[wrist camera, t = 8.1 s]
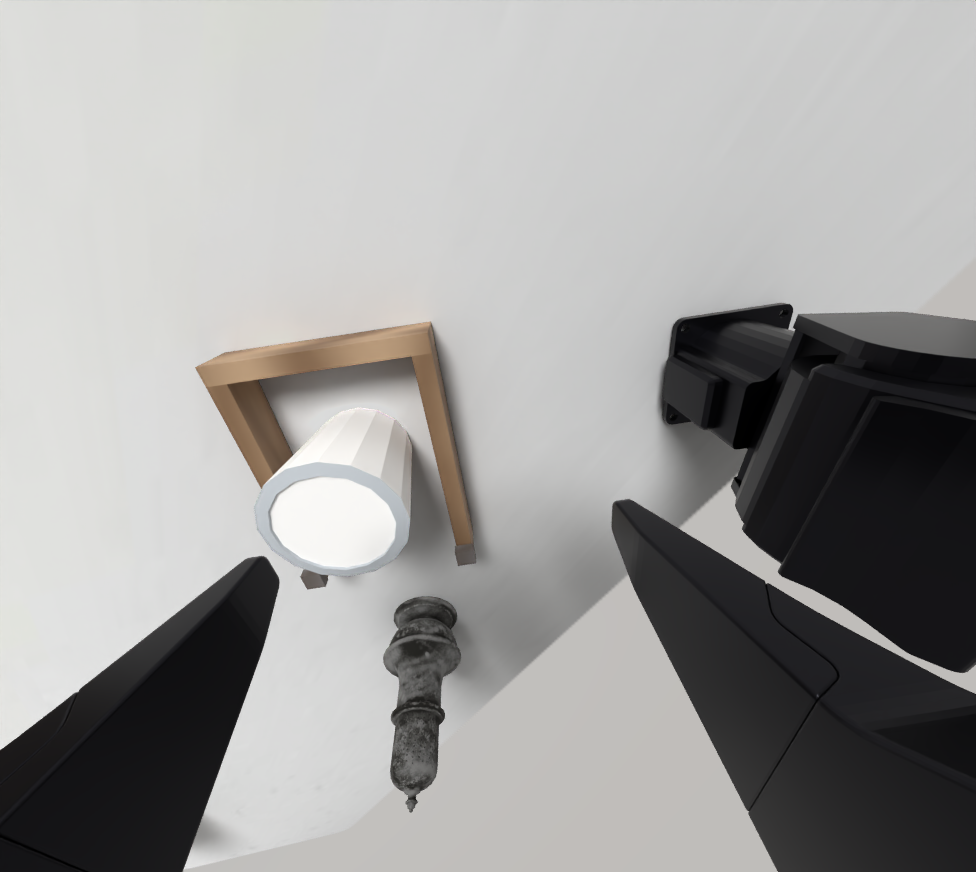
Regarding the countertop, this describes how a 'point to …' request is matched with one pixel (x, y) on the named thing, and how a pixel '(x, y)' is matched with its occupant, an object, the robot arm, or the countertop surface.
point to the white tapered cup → (341, 497)
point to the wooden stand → (240, 370)
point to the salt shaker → (419, 689)
